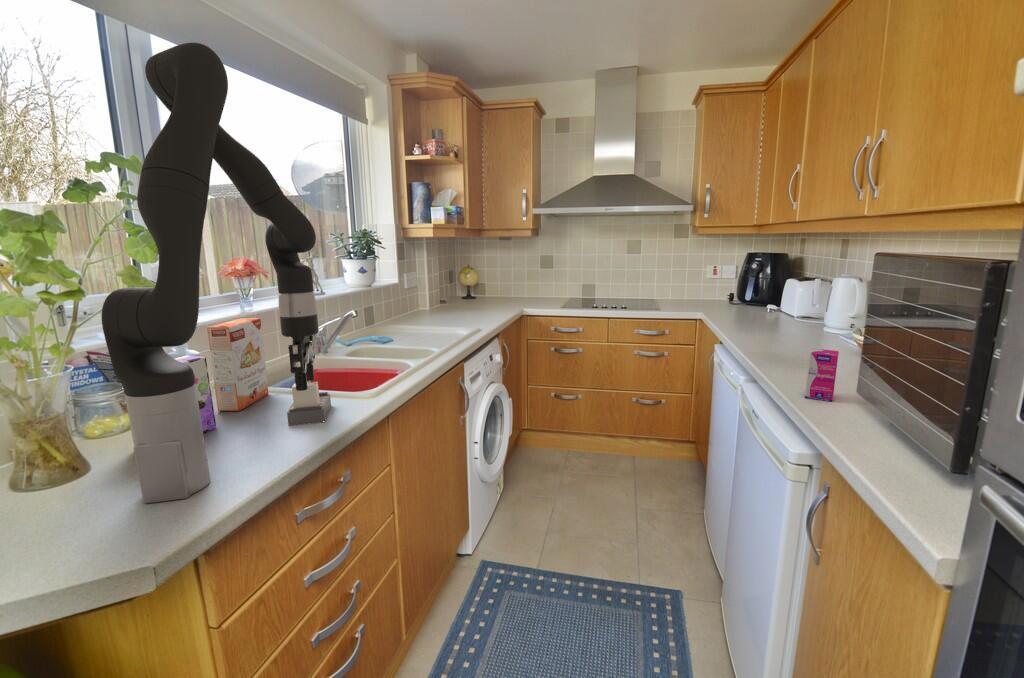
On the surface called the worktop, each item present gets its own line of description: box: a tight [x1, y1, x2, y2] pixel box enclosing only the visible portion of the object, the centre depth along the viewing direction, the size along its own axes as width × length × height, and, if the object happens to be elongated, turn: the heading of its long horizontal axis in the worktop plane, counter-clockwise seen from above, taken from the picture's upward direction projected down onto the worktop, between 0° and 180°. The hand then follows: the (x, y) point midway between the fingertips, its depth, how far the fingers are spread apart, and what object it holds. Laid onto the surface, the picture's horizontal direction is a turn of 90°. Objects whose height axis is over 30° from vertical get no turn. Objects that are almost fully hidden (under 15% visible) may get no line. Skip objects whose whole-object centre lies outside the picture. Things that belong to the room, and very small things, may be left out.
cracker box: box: [206, 317, 269, 412], centre depth 122 cm, size 14×6×21 cm, turn 179°
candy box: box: [173, 355, 217, 434], centre depth 100 cm, size 14×6×16 cm, turn 161°
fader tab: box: [291, 381, 320, 408], centre depth 110 cm, size 3×5×5 cm, turn 103°
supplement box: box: [804, 347, 840, 403], centre depth 118 cm, size 6×6×12 cm
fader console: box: [286, 391, 332, 427], centre depth 114 cm, size 12×8×4 cm, turn 13°
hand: (305, 385), depth 109 cm, fingers open, 8 cm apart
